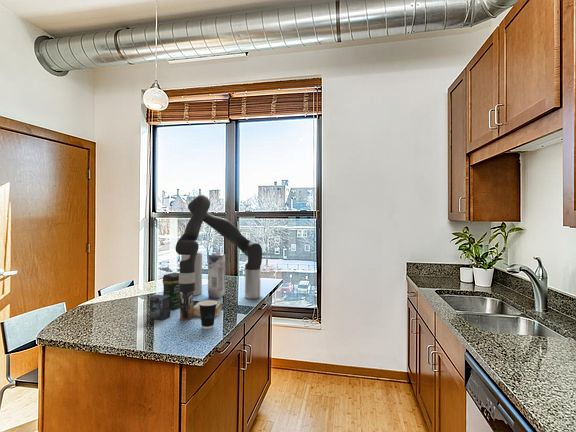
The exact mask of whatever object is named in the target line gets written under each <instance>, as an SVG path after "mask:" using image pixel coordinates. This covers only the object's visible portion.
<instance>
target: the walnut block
mask: <svg viewBox="0 0 576 432" xmlns="http://www.w3.org/2000/svg"><path fill="white" fill-rule="evenodd" d="M186 304H187V303H186ZM193 307H194V301H193V302H191V303H189V305H188V314H187V318H182V313H183V311H182V310H181V307H179V321H182V320H183V321H184V320H186V321H188V320H189V321H190V320H192V319H193V317H194V316H193ZM184 308H185V306H184Z"/></svg>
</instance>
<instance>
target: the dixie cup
mask: <svg viewBox="0 0 576 432" xmlns="http://www.w3.org/2000/svg"><path fill="white" fill-rule="evenodd" d="M198 302H199V301H198ZM216 304H217V302H216V300H209V299H208V300H201V302H199V305H200V315H201V316H200V323H201V327H202V329H204V330H206V329H207V330H208V329H209V330H210V329H212V328H214V325H215V317H216V316H215V310H216Z"/></svg>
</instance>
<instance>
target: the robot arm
mask: <svg viewBox="0 0 576 432" xmlns="http://www.w3.org/2000/svg"><path fill="white" fill-rule="evenodd" d="M187 208H188V211H189V212H190V213H191V214H192V215H191V217H190V219H189V220H188V222H187V224H186V225H185V226H186V227H185V229H184V232H183V234H181V237H179V239H178V240H177V242H176V244H175V248H174V249H175V252H176V254H177V255H180V256H181V255H190V257H189V259H185V260H180V261H179V272H178V273H179V292H182V293H183V295H182V294H181V299H180V307H181V310H182V311H183V313H182V318H187V314H188V305H189V303H191V302H193V303H194V301H193V299H194V296H193V291H195V259H196V255H197V253H199V243H198V241H197V240H198V238H199V235H200V234H199V233H200V231H201V228H202V224H203V222H204V223H205V224H206V225H208V226H209V227H211V228H212V229H213V230H214V231H216V232H217V233H218V234H219V235H220V236H222V237H223V238H224V239H226V240H228V242H231V244H233V245H234V246H236V247H237V248H238V249H239V250H240V251H241V252H242V253H243V255H245V256H247V261H246V263H245V267H244V298H246V299H250V300H251V299H261V267H262V263H263V249H262V245H261V244H260V243H257V242H253V241H251V240H249V239H248V238H246V237H245V236H244V235H243V234H242V233H241V231H240V230H239V228H238V227H237V226H236V225H235V224H234V223H232V222H231V221H230V220H229V219H227V218H223V217H220V216H215V215H214V214H211V213H209V210H210V208H211V201H210V199H209V197H207V196H206V195H204V194H201V195H197V196H196V197H195V198H194V199H193V200H191V201H190V202H189V203H188V204H187ZM186 303H187V304H186ZM184 306H185V308H184ZM180 307H179V308H180Z"/></svg>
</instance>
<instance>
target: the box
mask: <svg viewBox="0 0 576 432" xmlns="http://www.w3.org/2000/svg"><path fill="white" fill-rule="evenodd" d="M170 317H171V310H170V296H166V295H163V294H155V295H152V296H149V319H151V320H152V319H153V320H159V321H165V320H167V319H168V318H170Z"/></svg>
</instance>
